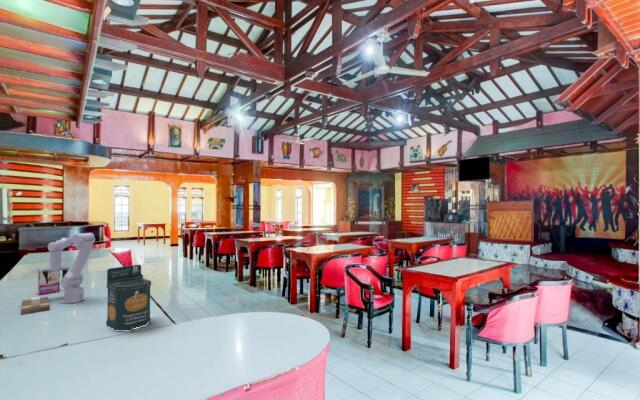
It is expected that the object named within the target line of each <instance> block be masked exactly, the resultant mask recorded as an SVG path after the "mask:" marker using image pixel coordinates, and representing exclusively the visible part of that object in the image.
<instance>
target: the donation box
mask: <svg viewBox="0 0 640 400" xmlns="http://www.w3.org/2000/svg"><path fill="white" fill-rule="evenodd" d="M106 273H107V274H106V289H107V308H106V309H107V310H106V311H107V316H106V317H107V319H106V321H105V325H107V326H106V327H108V326H109V327H111V328H113V329H114V330H131V329H133V328H136V327H140V326H143V325H146V324H147V323H148V322H150V321H152V319H151V286H152V281H151V280H149V279H145V278H144V275H143V273H142V265H141V264H134V265H133V264H132V265H127V266H119V267H112V268H111V267H110V268H108V269H107V270H106ZM150 323H151V322H150ZM109 327H108V328H109ZM111 328H110V329H111ZM114 330H113V331H114ZM131 331H132V330H131Z"/></svg>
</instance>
